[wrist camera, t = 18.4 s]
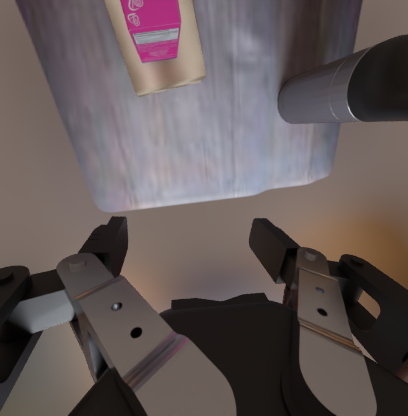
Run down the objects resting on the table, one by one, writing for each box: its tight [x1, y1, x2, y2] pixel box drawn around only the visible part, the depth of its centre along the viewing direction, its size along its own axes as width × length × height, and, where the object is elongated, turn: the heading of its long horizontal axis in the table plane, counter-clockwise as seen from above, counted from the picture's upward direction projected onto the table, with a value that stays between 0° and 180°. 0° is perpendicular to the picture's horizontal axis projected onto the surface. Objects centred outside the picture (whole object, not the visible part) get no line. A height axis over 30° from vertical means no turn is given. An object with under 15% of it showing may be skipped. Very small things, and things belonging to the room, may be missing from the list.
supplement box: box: [120, 0, 181, 63], centre depth 23 cm, size 6×6×12 cm
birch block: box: [105, 0, 206, 97], centre depth 31 cm, size 12×12×6 cm
